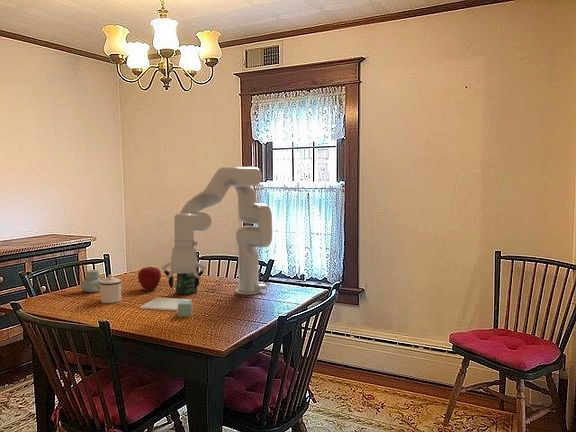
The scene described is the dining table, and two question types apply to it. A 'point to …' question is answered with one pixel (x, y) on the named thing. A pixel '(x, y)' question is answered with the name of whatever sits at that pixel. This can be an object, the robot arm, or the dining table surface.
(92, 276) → the air freshener
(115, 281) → the teacup with lid
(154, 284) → the apple
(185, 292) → the coffee jar
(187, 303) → the block
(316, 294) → the dining table surface
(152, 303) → the tile
